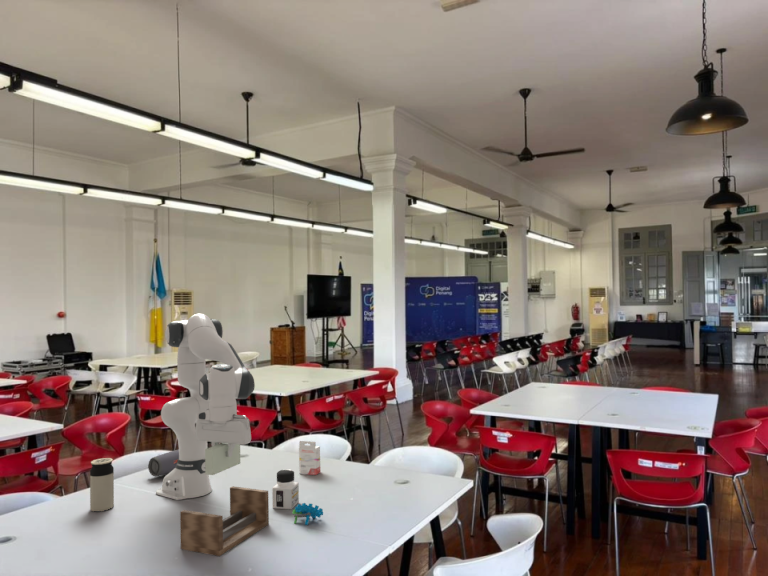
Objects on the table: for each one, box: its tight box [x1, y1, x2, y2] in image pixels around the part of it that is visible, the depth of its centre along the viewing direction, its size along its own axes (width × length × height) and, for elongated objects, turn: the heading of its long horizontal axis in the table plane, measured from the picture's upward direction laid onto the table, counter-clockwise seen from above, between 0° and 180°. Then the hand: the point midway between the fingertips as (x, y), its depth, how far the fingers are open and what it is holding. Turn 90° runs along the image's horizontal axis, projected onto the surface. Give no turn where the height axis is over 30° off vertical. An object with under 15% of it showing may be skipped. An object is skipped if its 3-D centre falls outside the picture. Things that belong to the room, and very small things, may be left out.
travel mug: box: [89, 457, 115, 512], centre depth 212 cm, size 8×8×18 cm
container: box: [271, 468, 300, 510], centre depth 211 cm, size 8×8×13 cm
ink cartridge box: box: [298, 440, 321, 476], centre depth 251 cm, size 9×5×15 cm, turn 73°
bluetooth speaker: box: [147, 449, 179, 477], centre depth 257 cm, size 23×9×10 cm, turn 148°
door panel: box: [205, 443, 241, 476], centre depth 184 cm, size 3×14×8 cm, turn 157°
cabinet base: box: [179, 486, 270, 557], centre depth 183 cm, size 15×26×12 cm, turn 158°
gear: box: [291, 502, 324, 526], centre depth 193 cm, size 11×6×10 cm
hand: (223, 455), depth 184 cm, fingers closed on door panel, 3 cm apart
